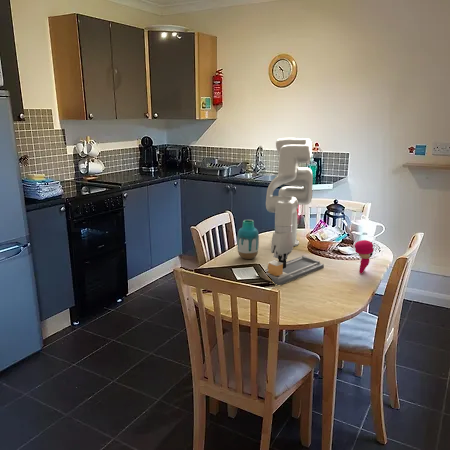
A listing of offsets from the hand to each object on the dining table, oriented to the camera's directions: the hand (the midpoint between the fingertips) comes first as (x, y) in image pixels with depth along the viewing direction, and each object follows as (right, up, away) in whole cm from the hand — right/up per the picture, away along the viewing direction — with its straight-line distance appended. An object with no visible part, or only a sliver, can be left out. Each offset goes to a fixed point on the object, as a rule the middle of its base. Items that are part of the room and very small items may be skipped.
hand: (282, 267), depth 192 cm
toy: (+37, -3, +4) cm, 37 cm away
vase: (-14, +2, +22) cm, 27 cm away
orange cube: (-3, -2, -2) cm, 5 cm away
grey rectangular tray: (+4, -2, +5) cm, 7 cm away
